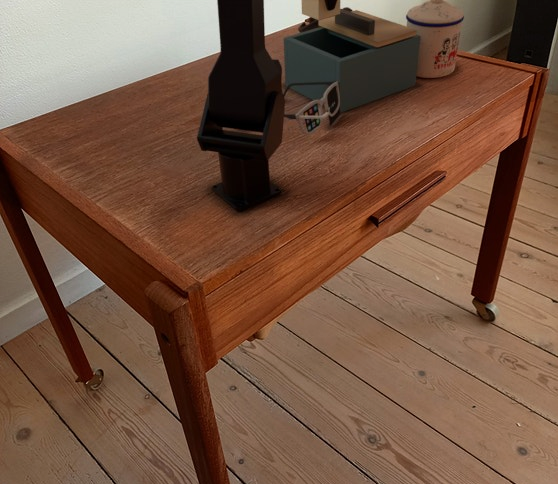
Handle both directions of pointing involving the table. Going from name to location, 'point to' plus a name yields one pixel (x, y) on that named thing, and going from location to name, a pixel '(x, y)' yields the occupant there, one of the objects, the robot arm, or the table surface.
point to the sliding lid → (367, 28)
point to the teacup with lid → (436, 36)
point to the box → (349, 66)
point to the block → (318, 9)
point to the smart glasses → (312, 114)
